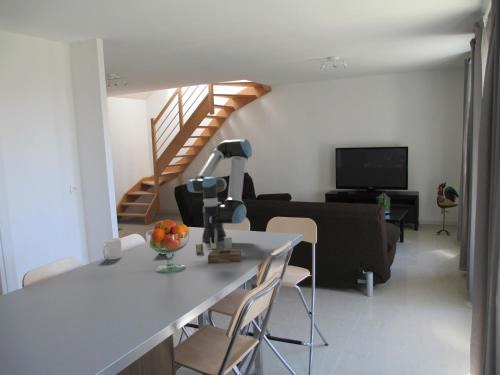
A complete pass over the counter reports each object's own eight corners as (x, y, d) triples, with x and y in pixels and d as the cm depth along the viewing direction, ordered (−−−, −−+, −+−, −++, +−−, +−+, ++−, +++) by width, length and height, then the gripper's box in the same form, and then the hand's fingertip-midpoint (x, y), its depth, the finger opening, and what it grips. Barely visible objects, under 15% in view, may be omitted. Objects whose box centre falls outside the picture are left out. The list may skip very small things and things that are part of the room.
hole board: (211, 257, 216) (211, 249, 215) (241, 255, 215) (241, 248, 214) (208, 263, 204) (207, 255, 203) (240, 262, 203) (239, 254, 203)
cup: (125, 256, 229) (123, 238, 228) (110, 262, 218) (108, 243, 217) (114, 255, 232) (112, 237, 231) (98, 261, 221) (96, 242, 220)
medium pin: (225, 250, 227) (224, 236, 227) (232, 250, 227) (231, 236, 226) (224, 252, 223) (223, 238, 223) (231, 252, 223) (231, 237, 222)
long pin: (211, 249, 228) (209, 228, 227) (218, 248, 228) (216, 227, 226) (210, 251, 224) (208, 229, 223) (217, 250, 224) (215, 229, 223)
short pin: (196, 252, 228) (196, 243, 228) (204, 251, 228) (203, 242, 228) (195, 254, 224) (194, 245, 224) (202, 253, 224) (202, 244, 224)
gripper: (206, 203, 232) (209, 243, 235) (201, 208, 215) (205, 251, 218) (219, 202, 231) (222, 242, 234) (215, 207, 214) (219, 251, 217)
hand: (214, 247), depth 226 cm, fingers closed on long pin, 4 cm apart
